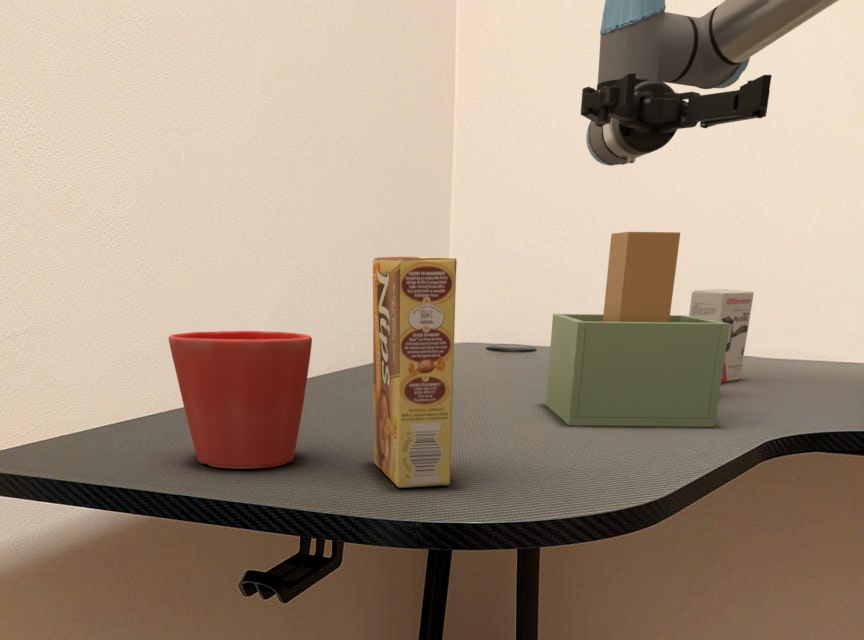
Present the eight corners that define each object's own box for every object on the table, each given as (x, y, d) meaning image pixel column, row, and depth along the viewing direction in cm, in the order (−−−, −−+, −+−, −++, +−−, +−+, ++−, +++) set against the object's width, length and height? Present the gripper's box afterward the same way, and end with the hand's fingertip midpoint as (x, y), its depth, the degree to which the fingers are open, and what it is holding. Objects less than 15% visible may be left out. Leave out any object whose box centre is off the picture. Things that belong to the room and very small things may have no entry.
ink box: (712, 384, 122) (725, 290, 118) (678, 381, 125) (690, 289, 121) (741, 379, 128) (755, 289, 123) (708, 376, 131) (721, 288, 126)
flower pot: (234, 442, 80) (228, 327, 76) (338, 456, 75) (337, 333, 71) (149, 463, 72) (137, 334, 68) (260, 480, 67) (254, 342, 63)
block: (639, 403, 100) (659, 234, 93) (657, 413, 93) (680, 232, 87) (594, 402, 100) (611, 233, 93) (609, 412, 93) (628, 231, 87)
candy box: (452, 487, 65) (462, 257, 59) (395, 490, 65) (399, 256, 59) (420, 462, 73) (426, 256, 67) (369, 464, 72) (370, 256, 66)
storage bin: (673, 406, 103) (685, 315, 99) (714, 427, 91) (730, 323, 87) (545, 405, 103) (552, 313, 99) (568, 425, 90) (578, 321, 87)
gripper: (738, 156, 112) (814, 133, 93) (537, 154, 112) (571, 131, 92) (747, 86, 109) (829, 47, 90) (541, 84, 109) (577, 44, 90)
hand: (698, 89), depth 91 cm, fingers open, 13 cm apart
